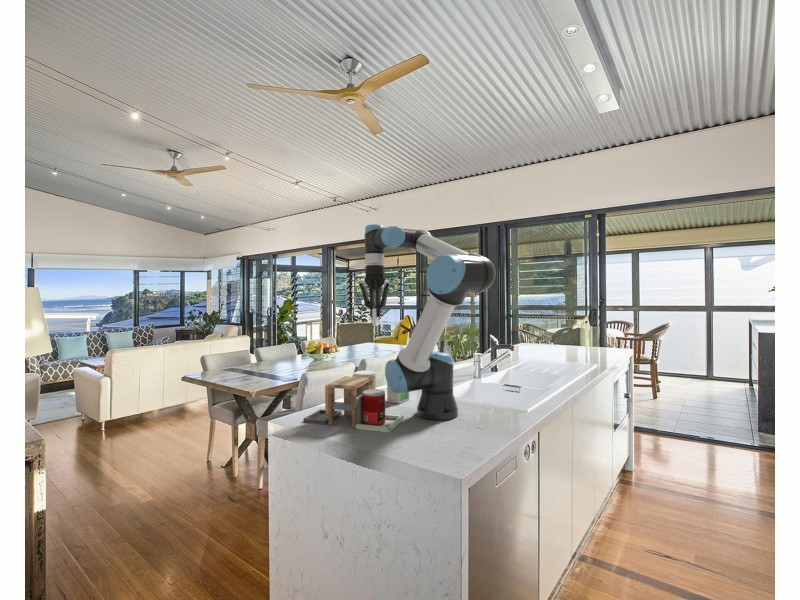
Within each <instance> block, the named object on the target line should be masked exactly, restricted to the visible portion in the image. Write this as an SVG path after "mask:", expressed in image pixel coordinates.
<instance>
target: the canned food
mask: <svg viewBox="0 0 800 600" xmlns="http://www.w3.org/2000/svg"><path fill="white" fill-rule="evenodd" d="M362 407H363V422H362V424H363V425H373V426H383V425H384V424H385V423H386V418H385V414H386V391H385V390H384V389H381V388H379V389H377V388H375V389H369V390H365V391H363V393H362Z"/></svg>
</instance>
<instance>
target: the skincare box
mask: <svg viewBox="0 0 800 600" xmlns="http://www.w3.org/2000/svg"><path fill="white" fill-rule="evenodd" d="M386 395H387V396H386V397H387V399H386V401H387V403H391V404H402V403H405V402H407V401H409V400H410V392H406V393H395V392H393V391H392V390H391V389H390V387H389V385H388V383H387V382H386Z"/></svg>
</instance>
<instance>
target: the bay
mask: <svg viewBox="0 0 800 600" xmlns="http://www.w3.org/2000/svg"><path fill="white" fill-rule="evenodd" d="M404 418H405V417H404V415H403V414H402V415H401V414H390V413H385V420H387V419H389V420H394V421H393V422H392V423H391V424H390V425H389V426H383V425H380V426H373V425H365V424H364V423H360V424H357V425H356V428H355V430H362V431H363V430H364V431H372V432H382V433H391V432H392V431H393V430H394V429H395V428H396V427H398V425H399V424H400V423H401V422H402V421H403V420H404Z"/></svg>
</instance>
